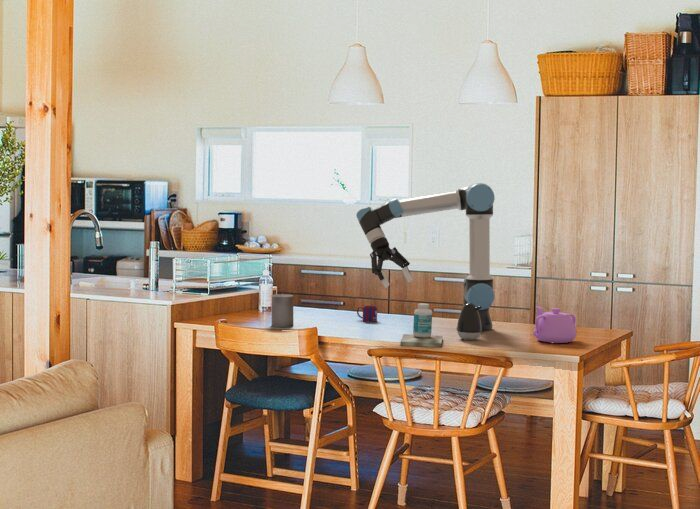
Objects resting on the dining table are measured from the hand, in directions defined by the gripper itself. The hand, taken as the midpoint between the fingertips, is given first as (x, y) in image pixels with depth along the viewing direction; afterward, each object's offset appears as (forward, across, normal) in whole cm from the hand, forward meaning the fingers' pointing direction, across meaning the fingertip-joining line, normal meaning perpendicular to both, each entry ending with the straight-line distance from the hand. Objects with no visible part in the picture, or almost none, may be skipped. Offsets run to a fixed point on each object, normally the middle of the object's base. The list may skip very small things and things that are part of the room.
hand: (399, 283), depth 396 cm
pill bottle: (+26, +5, +3) cm, 27 cm away
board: (+28, +8, +5) cm, 30 cm away
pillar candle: (-10, +28, -49) cm, 58 cm away
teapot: (+48, -41, +24) cm, 68 cm away
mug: (-2, -15, -45) cm, 48 cm away
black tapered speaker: (+34, -14, +8) cm, 37 cm away
